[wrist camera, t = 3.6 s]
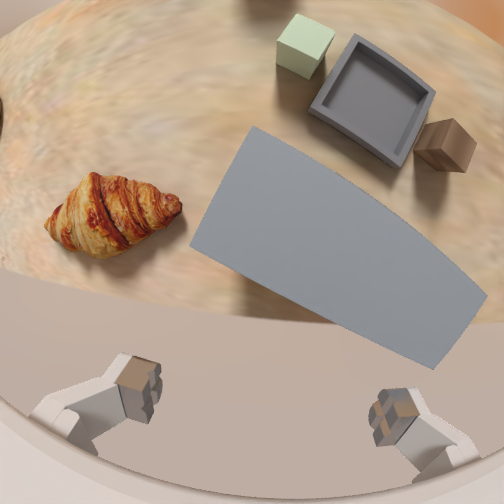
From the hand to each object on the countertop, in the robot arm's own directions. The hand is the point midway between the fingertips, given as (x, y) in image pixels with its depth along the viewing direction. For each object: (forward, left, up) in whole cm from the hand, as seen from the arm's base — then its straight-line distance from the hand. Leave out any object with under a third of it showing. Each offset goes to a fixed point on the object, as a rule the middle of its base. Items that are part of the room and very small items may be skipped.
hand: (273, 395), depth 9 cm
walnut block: (-11, -19, -22) cm, 31 cm away
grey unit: (-2, -5, -22) cm, 23 cm away
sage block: (+7, -19, -22) cm, 30 cm away
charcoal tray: (-2, -19, -22) cm, 29 cm away
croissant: (+19, +7, -22) cm, 30 cm away
